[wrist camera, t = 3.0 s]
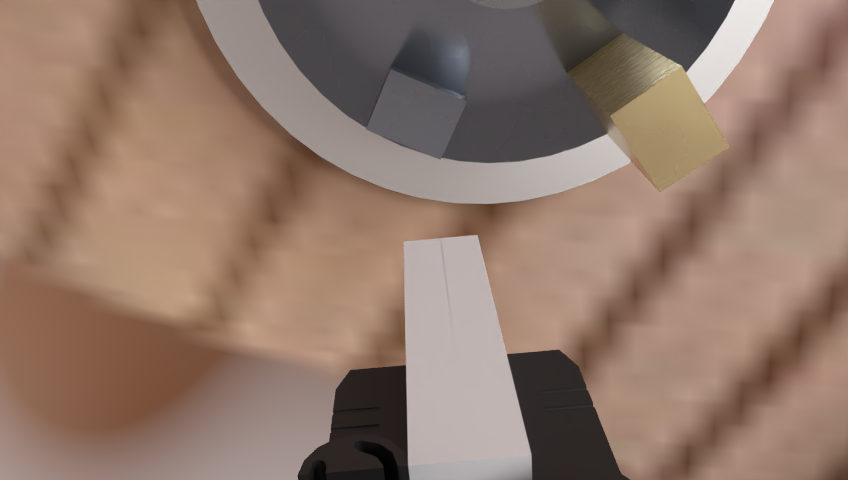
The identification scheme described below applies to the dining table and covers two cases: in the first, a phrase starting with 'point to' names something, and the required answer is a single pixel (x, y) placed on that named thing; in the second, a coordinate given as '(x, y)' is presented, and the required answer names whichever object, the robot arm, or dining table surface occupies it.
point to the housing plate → (414, 171)
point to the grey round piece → (514, 75)
